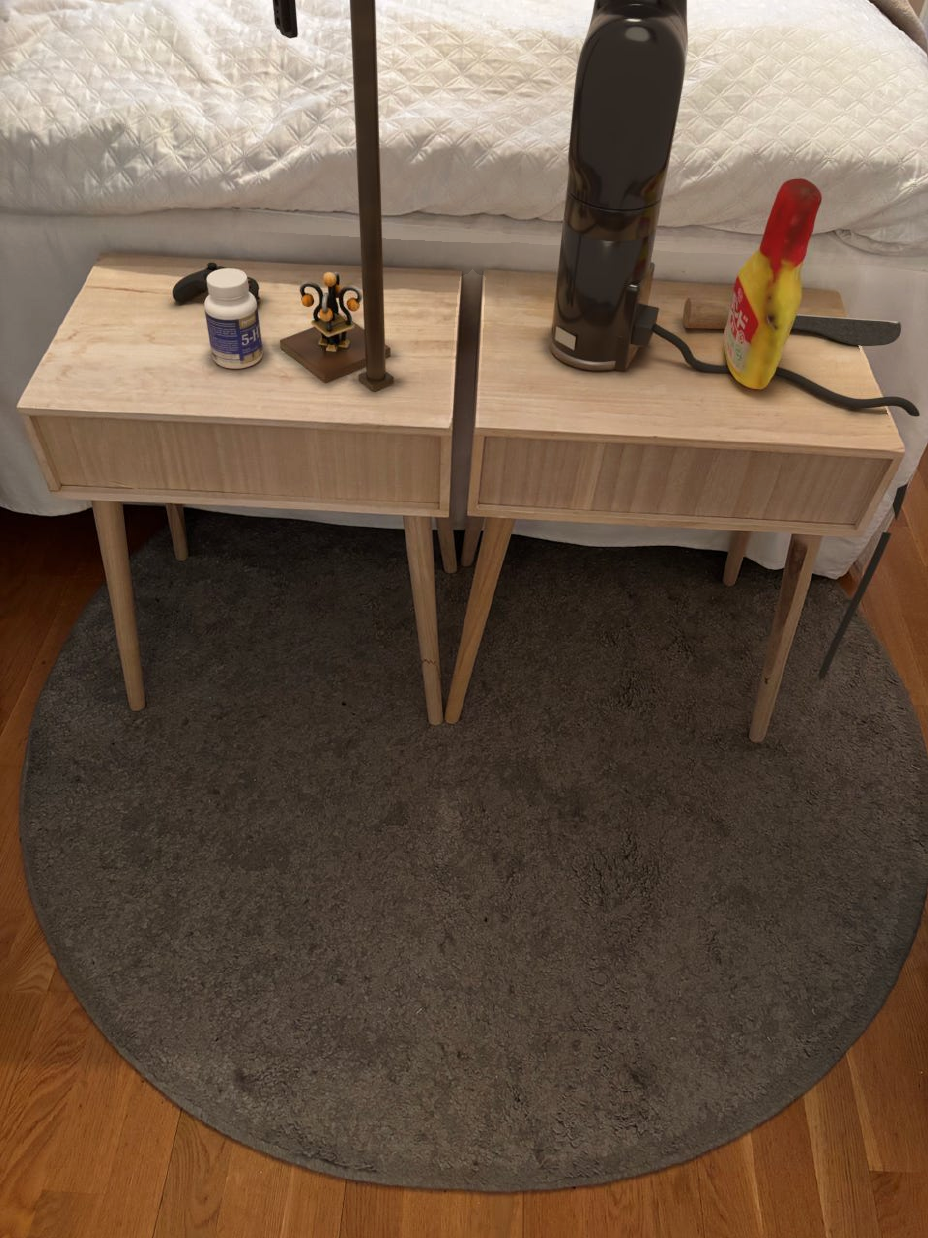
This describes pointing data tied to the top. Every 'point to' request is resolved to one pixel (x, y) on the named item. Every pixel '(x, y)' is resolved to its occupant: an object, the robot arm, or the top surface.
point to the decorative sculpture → (332, 310)
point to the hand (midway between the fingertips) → (325, 28)
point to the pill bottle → (232, 319)
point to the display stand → (370, 340)
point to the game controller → (203, 285)
